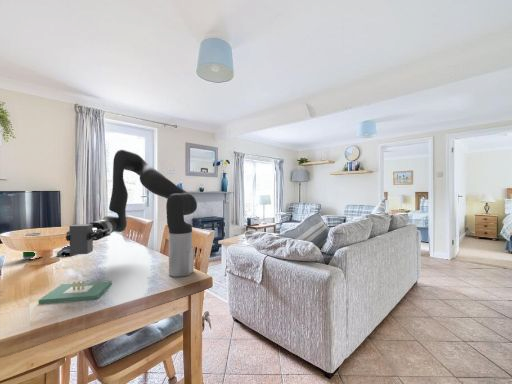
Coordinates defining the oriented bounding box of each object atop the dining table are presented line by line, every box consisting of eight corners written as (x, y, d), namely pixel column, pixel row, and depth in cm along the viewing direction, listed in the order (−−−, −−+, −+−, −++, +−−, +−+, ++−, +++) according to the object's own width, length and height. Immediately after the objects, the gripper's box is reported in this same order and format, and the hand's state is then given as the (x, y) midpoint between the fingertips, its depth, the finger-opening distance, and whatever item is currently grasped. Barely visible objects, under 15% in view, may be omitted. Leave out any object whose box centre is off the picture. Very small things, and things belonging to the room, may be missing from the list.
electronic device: (59, 254, 132) (54, 257, 120) (61, 244, 133) (56, 245, 121) (80, 254, 137) (77, 257, 124) (82, 244, 138) (79, 246, 125)
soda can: (42, 258, 118) (42, 234, 118) (21, 261, 114) (21, 236, 114) (44, 255, 124) (44, 232, 124) (24, 257, 120) (24, 233, 120)
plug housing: (92, 251, 89) (92, 224, 89) (87, 254, 85) (87, 225, 85) (75, 251, 88) (75, 224, 88) (69, 254, 84) (69, 226, 84)
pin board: (111, 284, 88) (111, 274, 88) (97, 299, 76) (97, 287, 76) (61, 287, 85) (61, 277, 85) (38, 303, 73) (38, 291, 73)
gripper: (79, 220, 99) (54, 227, 82) (117, 220, 102) (100, 226, 85) (79, 239, 99) (54, 249, 82) (118, 237, 102) (100, 247, 85)
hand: (77, 237), depth 84 cm, fingers closed on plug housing, 5 cm apart
